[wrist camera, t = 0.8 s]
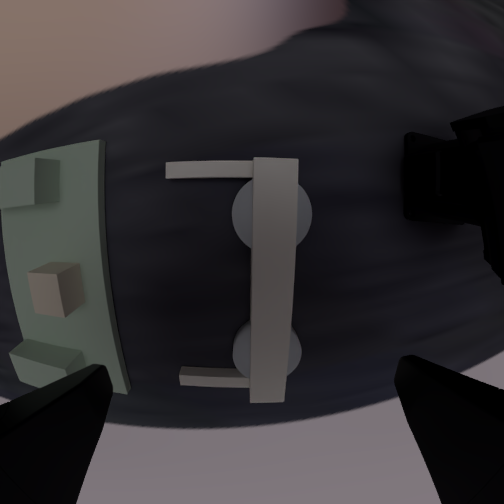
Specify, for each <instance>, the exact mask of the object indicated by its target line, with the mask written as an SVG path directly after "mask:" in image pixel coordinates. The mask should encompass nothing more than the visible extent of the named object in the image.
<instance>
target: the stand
mask: <svg viewBox="0 0 504 504" xmlns="http://www.w3.org/2000/svg"><path fill="white" fill-rule="evenodd" d="M105 144H106V142H105V141H102V140H94V141H88V142H83V143H77V144H72V145H67V146H62V147H57V148H53V149H48V150H44V151H40V152H36V153H32V154H28V155H24V156H20V157H17V158H13V159H10V160H6V161H3V162H1V167H0V209H1V217H2V231H3V241H4V250H5V258H6V264H7V271H8V276H9V282H10V287H11V292H12V297H13V301H14V305H15V309H16V313H17V317H18V321H19V325H20V328H21V331H22V335H23V338H24V341H23V342H21V343H20V344H19V345H18V346H17V347H15V348H14V349H13V350H12V351H11V352H9V355H10V357H11V360H12V363H13V365H14V368H15V370H16V373H17V375H18V377H19V380H20V381H22V382H25V383H27V384H30V385H33V386H36V387H38V388H41V387H43V386H46V385H48V384H50V383H52V382H54V381H57V380H59V379H61V378H63V377H65V376H68V375H70V374H72V373H74V372H76V371H78V370H81V369H83V368H85V367H87V366H89V365H91V364H101V365H105V366H106V368H107V370H108V373H109V376H110V379H111V382H112V384H113V392H117V393H122V394H128V393H129V391H130V389H131V385H130V382H129V378H128V374H127V370H126V366H125V361H124V357H123V352H122V348H121V343H120V338H119V333H118V328H117V322H116V316H115V310H114V304H113V297H112V290H111V282H110V274H109V265H108V254H107V242H106V226H105V197H104V173H105Z"/></svg>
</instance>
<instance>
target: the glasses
mask: <svg viewBox="0 0 504 504" xmlns="http://www.w3.org/2000/svg"><path fill="white" fill-rule="evenodd" d="M189 178H252V180H251V181H249V182H248V183H246V184H245V185H244V186H243V187H242V188H241V189H240V191H239V192H238V194H237V196H236V198H235V200H234V203H233V207H232V221H233V225H234V228H235V231H236V233H237V235H238V236H239V238H240V239H241V240H242V241H243V242H244V243H245V244H246V245H247V246H248V247H250V248H251V288H250V320H249V321H248V322H246V323H245V324H243V325H242V326H241V327H240V328H239V330H238V331H237V333H236V335H235V337H234V343H233V361H234V364H235V366H236V368H204V367H186V366H182V367H181V370H180V373H179V379H180V385H189V386H205V387H236V388H250V403H269V402H284V396H285V387H286V377H287V375H289V374H290V373H291V372H292V371H293V370H294V369H295V368H296V367H297V365H298V364H299V362H300V359H301V353H302V350H301V345H300V342H299V339H298V336H297V334H296V331H295V330H294V328H293V327H292V326H291V320H292V306H293V291H294V274H295V255H296V246H297V245H298V244H299V243H300V242H301V241H302V240H303V239H304V237H305V236H306V234H307V232H308V230H309V228H310V225H311V220H312V208H311V203H310V200H309V198H308V196H307V194H306V192H305V191H304V190H303V188H302V187H301V186H300V185H299V184H298V159H288V158H261V157H254V159H253V161H185V162H166V179H189Z"/></svg>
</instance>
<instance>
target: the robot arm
mask: <svg viewBox="0 0 504 504" xmlns="http://www.w3.org/2000/svg"><path fill="white" fill-rule="evenodd" d="M450 125H451V127H452V130H453V132H454V131H455V133H456V136H457V139H455V140H449V141H445V140H442V139H438V138H434V137H431V136H427V135H423V134H419V133H415V132H409V133H407V134H406V135H405V157H404V191H405V201H404V216H405V218H406V219H408V220H412V221H425V222H438V223H449V224H460V225H463V224H464V223H469V224H473V225H478V226H481V230H482V236H483V242H484V251H483V253H484V259H485V260H486V261H487V262H488V263H489V264H490V265H491V267H492V270H493V271H494V272H495V273H496V274H497V275H498V276H499V277H500V278H501V283H502V285H504V106H502V107H497V108H493V109H489V110H486V111H483V112H480V113H477V114H474V115H471V116H468V117H465V118H462V119H459V120H456V121H453V122H451V123H450ZM410 136H411V137H412V138H413V142H412V141H411V139H410ZM410 211H412V215H411V216H410V215H409V213H410ZM394 383H395V387H396V390H397V393H398V395H399V398H400V401H401V404H402V407H403V410H404V413H405V416H406V419H407V422H408V424H409V427H410V429H411V431H412V433H413V435H414V438H415V440H416V442H417V444H418V447H419V449H420V451H421V454H422V456H423V458H424V461H425V463H426V465H427V468H428V470H429V473H430V475H431V477H432V480H433V483H434V485H435V488H436V490H437V493H438V495H439V498H440V501H441V503H442V504H504V390H503V389H499V388H497V387H494V386H492V385H489V384H486V383H484V382H481V381H478V380H475V379H473V378H470V377H468V376H465V375H463V374H460V373H457V372H455V371H452V370H450V369H447V368H445V367H442V366H440V365H437V364H435V363H432V362H430V361H427V360H425V359H422V358H420V357H417V356H415V355H407V356H403V357H401V358H400V360H399V363H398V367H397V371H396V374H395V378H394ZM112 394H113V384H112V382H111V379H110V376H109V373H108V370H107V368H106V366H105V365H101V364H91V365H89V366H87V367H85V368H83V369H81V370H78V371H76V372H74V373H72V374H70V375H68V376H65V377H63V378H61V379H59V380H57V381H54V382H52V383H50V384H48V385H46V386H43V387H41V388H39V389H37V390H34V391H32V392H30V393H28V394H25V395H23V396H21V397H18V398H16V399H14V400H11V401H10V402H7V403H4V404H2V405H0V504H76V502H77V499H78V496H79V493H80V490H81V487H82V484H83V481H84V478H85V475H86V473H87V470H88V467H89V464H90V462H91V458H92V456H93V453H94V451H95V448H96V445H97V443H98V440H99V438H100V435H101V432H102V430H103V426H104V423H105V419H106V415H107V412H108V408H109V405H110V401H111V398H112Z"/></svg>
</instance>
